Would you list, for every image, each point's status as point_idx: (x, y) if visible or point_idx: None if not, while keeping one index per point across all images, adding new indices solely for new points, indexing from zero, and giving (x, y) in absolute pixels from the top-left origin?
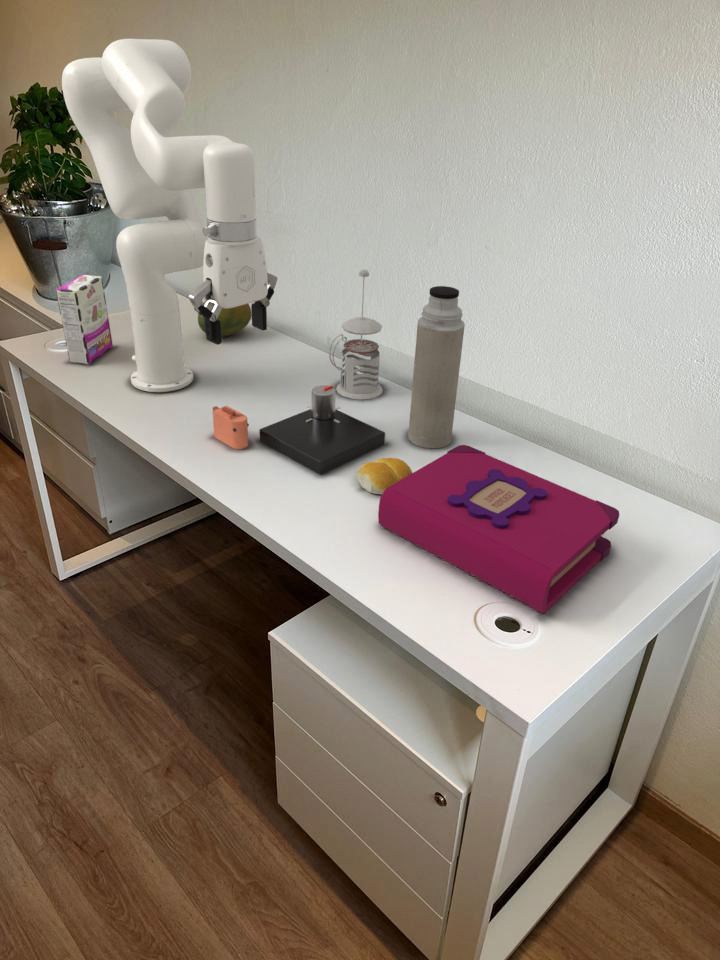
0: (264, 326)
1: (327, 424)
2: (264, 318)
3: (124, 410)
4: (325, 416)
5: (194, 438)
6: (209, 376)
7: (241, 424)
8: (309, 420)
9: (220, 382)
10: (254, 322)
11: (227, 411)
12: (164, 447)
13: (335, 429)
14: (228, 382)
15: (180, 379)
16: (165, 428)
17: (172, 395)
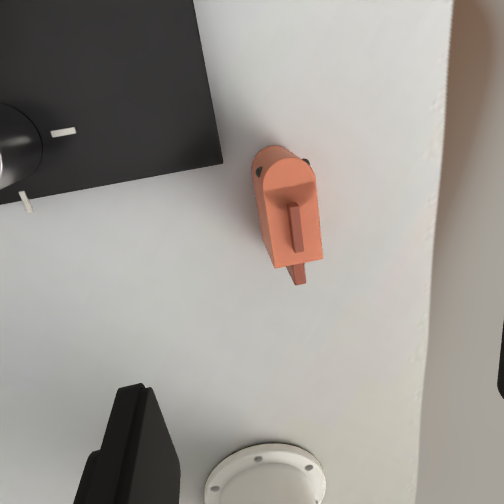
0: (134, 403)
1: (16, 74)
2: (121, 457)
3: (383, 408)
4: (4, 107)
5: (339, 249)
6: None
7: (291, 156)
8: (63, 128)
9: None
10: (172, 476)
11: (300, 226)
12: (409, 243)
13: (3, 25)
14: None
15: (245, 470)
16: (363, 315)
17: (279, 429)
